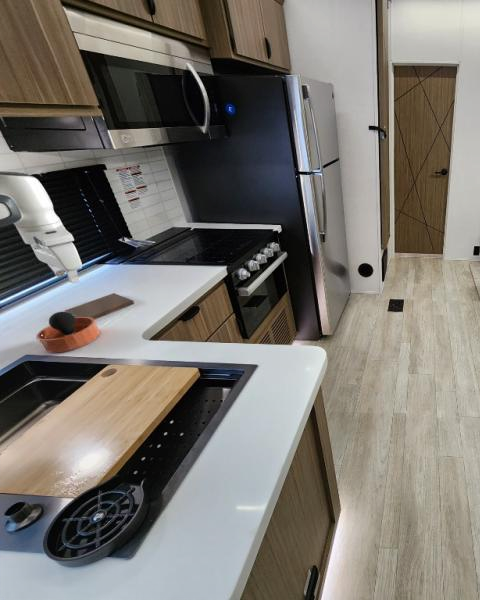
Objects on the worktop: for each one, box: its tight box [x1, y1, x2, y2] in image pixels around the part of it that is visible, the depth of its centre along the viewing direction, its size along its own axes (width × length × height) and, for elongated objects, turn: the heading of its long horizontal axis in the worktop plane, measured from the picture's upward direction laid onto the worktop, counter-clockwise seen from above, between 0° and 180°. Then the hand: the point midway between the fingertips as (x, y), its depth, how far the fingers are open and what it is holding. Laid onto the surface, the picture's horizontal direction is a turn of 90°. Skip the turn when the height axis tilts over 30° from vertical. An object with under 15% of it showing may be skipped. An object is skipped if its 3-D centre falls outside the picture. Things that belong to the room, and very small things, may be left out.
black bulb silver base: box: [48, 311, 76, 336], centre depth 104 cm, size 6×6×10 cm
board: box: [64, 292, 135, 320], centre depth 125 cm, size 16×14×2 cm
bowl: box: [36, 317, 101, 353], centre depth 105 cm, size 14×14×5 cm
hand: (68, 279), depth 98 cm, fingers open, 8 cm apart
